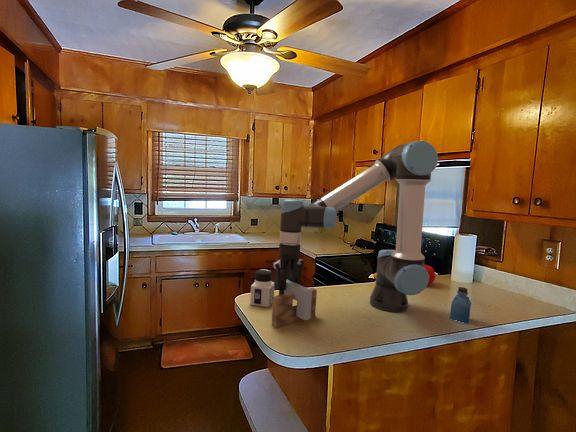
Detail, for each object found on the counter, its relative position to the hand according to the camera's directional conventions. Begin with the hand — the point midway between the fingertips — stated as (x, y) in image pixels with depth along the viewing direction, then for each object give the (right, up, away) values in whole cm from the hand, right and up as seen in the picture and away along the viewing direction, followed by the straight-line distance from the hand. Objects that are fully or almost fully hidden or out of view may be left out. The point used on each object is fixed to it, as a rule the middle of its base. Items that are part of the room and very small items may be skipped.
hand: (285, 306), depth 121 cm
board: (+3, -4, -3) cm, 6 cm away
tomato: (+69, -2, +49) cm, 84 cm away
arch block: (+3, -1, -4) cm, 5 cm away
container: (-9, -2, +12) cm, 15 cm away
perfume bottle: (+66, -7, +7) cm, 67 cm away
